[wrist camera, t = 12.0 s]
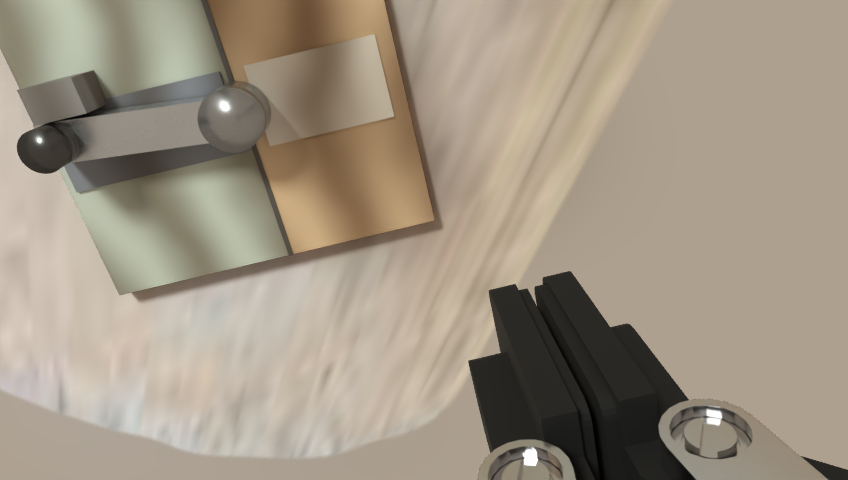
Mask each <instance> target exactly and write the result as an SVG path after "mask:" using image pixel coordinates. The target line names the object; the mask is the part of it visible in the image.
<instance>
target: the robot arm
mask: <svg viewBox="0 0 848 480" xmlns="http://www.w3.org/2000/svg"><path fill="white" fill-rule="evenodd" d="M535 296H536V302H537V306H536V304H535V302H534V300H533V299H532V296H531V294H530V293H529V291H528V289H523V290H518V288H517V286H516V285H515V284H513V285H509V286H505V287H501V288H496V289H492V290H489V297H490V302H491V307H492V312H493V317H494V322H495V327H496V332H497V337H498V341H499V346H500V351H501V353H499V354H495V355H491V356H487V357H482V358H478V359H474V360H470V361H468V362H469V367H470V371H471V376H472V380H473V384H474V389H475V393H476V397H477V402H478V406H479V410H480V414H481V418H482V422H483V426H484V430H485V434H486V438H487V442H488V445H489V449H490V454H489V455H488V456H487V457H486V458H485V460H484V461H483V463H482V464H481V466H480V468H479V473H478V479H477V480H848V470H846V469H843V468H839V467H836V466H833V465H829V464H826V463H823V462H819V461H816V460H812V459H809V458H805V457H802V456H800V455H799V454H797V453H796V452H795V451H794V450H793V449H792V448H790V447H789V446H788V445H787V444H786V443H784V442H783V441H782V440H781V439H780V438H779V437H777V436H776V435H775V434H774V433H773V432H771V431H770V430H769V429H768V428H767V427H766V426H764V425H763V424H762V423H761V422H760V421H758V420H757V419H756V418H755V417H754V416H753V415H751V414H750V413H748V412H747V411H745V410H743V409H742V408H740V407H738V406H735V405H733V404H730V403H728V402H725V401H719V400H713V399H693V400H689V399H688V398H687V397H686V396H685V395H684V393H683V392H682V390H681V389H680V388H679V386H678V385H677V384H676V383H675V381H674V380H673V379H672V378H671V376H670V375H669V373H668V372H667V371H666V370H665V369H664V367H663V366H662V365H661V363H660V362H659V361H658V359H657V358H656V357H655V355H654V354H653V353H652V351H651V350H650V349H649V348H648V346H647V345H646V344H645V342H644V341H643V340H642V338H641V337H640V336H639V335H638V333H637V332H636V331H635V329H634V328H633V327H632V326H631V325H630V324H623V325H618V326H614V327H610V326H609V325H608V323H607V322H606V320H605V319H604V318H603V316H602V315H601V313H600V312H599V311H598V309H597V308H596V306H595V305H594V303H593V302H592V301H591V299H590V298H589V296H588V295H587V294H586V292H585V291H584V290H583V288H582V287H581V285H580V284H579V282H578V281H577V279H576V278H575V277H574V275H573V274H572V273H571V272H570V271H568V272H564V273H560V274H556V275H551V276H547V277H543V285H540V286H535Z"/></svg>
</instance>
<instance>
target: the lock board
mask: <svg viewBox="0 0 848 480" xmlns="http://www.w3.org/2000/svg"><path fill="white" fill-rule="evenodd" d="M0 49H1V51H2V53H3V55H4V57H5V59H6V61H7V63H8V65H9V68H10V70H11V72H12V74H13V76H14V78H15V80H16V82H17V84H18V86H19V88H20V89H19V90H17V91H18V93H19V95H20V98H21V100H22V102H23V104H24V106H25V108H26V110H27V112H28V114H29V116H30V118H31V120H32V122H33V124H34V126H36V125H41V124H45V123H49V122H53V121H57V120H61V119H65V118H70V117H74V116H78V115H82V114H86V113H89V112H95V111H102V110H109V109H117V108H124V107H131V106H138V105H145V104H152V103H160V102H167V101H174V100H181V99H188V98H196V97H203V96H208V95H209V94H211V93H212V92H214V91H215V90H216V89H218V88H219V87H221V86H222V85H224V84H226V83H229V82H232V81H243V82H247V83H250V84H252V85H254V86H256V87H257V88H258V89H260V90H261V91H262V92H263V93H264V95H265V96H266V98H267V99H268V102H269V104H270V108H271V119H270V123H269V125H268V127H267V129H266V130H265V132H264V133H263V134H262V136H261V137H260V139H259V140H258V141H257V143H256V144H255V145H254V146H253V147H251V148H250V149H248V150H246V151H243V152H238V153H229V152H224V151H221V150H219V149H217V148H215V147H214V146H212V145H211V144H210V143H207V144H200V145H193V146H186V147H179V148H172V149H165V150H157V151H150V152H143V153H136V154H129V155H122V156H115V157H108V158H101V159H94V160H87V161H80V162H73V163H69V164H67V165H65V166H64V167H62V168H60V169H59V171H60V173H61V175H62V177H63V179H64V181H65V183H66V186H67V188H68V190H69V192H70V194H71V196H72V198H73V200H74V202H75V204H76V206H77V208H78V210H79V212H80V215H81V217H82V219H83V221H84V223H85V225H86V227H87V229H88V231H89V233H90V235H91V237H92V239H93V241H94V244H95V246H96V248H97V250H98V252H99V254H100V256H101V258H102V260H103V262H104V264H105V266H106V268H107V270H108V273H109V275H110V277H111V279H112V281H113V283H114V285H115V287H116V289H117V291H118V293H119V295H123V294H127V293H131V292H136V291H140V290H144V289H148V288H153V287H157V286H161V285H165V284H169V283H174V282H178V281H182V280H186V279H190V278H195V277H199V276H203V275H207V274H211V273H216V272H220V271H224V270H228V269H232V268H237V267H241V266H245V265H249V264H253V263H258V262H262V261H266V260H270V259H275V258H279V257H283V256H287V255H289V256H290V255H293V254H296V253H300V252H304V251H308V250H312V249H317V248H321V247H325V246H329V245H333V244H338V243H342V242H346V241H350V240H354V239H359V238H363V237H367V236H371V235H375V234H380V233H384V232H388V231H392V230H397V229H401V228H405V227H409V226H413V225H418V224H422V223H426V222H430V221H434V215H433V211H432V207H431V202H430V198H429V194H428V189H427V185H426V181H425V176H424V172H423V168H422V163H421V159H420V155H419V150H418V146H417V141H416V137H415V133H414V128H413V124H412V120H411V115H410V111H409V107H408V102H407V98H406V94H405V89H404V85H403V81H402V76H401V72H400V68H399V63H398V59H397V55H396V50H395V46H394V42H393V37H392V33H391V29H390V24H389V20H388V15H387V11H386V7H385V2H384V0H0Z"/></svg>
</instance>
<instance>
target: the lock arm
mask: <svg viewBox="0 0 848 480" xmlns="http://www.w3.org/2000/svg"><path fill="white" fill-rule="evenodd" d="M270 119H271V108H270V104H269V102H268V99H267V98H266V96H265V95H264V93H263V92H262V91H261V90H260V89H258V88H257V87H256V86H254V85H252V84H250V83H247V82H243V81H232V82H229V83H226V84H224V85H222V86H221V87H219V88H218V89H216V90H215V91H214V92H212V93H211V94H209V95H208V96H203V97H196V98H188V99H181V100H174V101H167V102H160V103H152V104H145V105H138V106H131V107H124V108H117V109H109V110H102V111H95V112H89V113H86V114H82V115H78V116H74V117H70V118H65V119H61V120H57V121H53V122H49V123H45V124H41V125H36V126H34V125H33V127H34V129H33V130H30V131H28V132H26V133H24V134H23V135H22V136H21V137H20V138H19V140H18V143H17V152H18V155H19V157H20V159H21V161H22V162H23V163H24V164H25V165H26V166H27V167H28V168H30V169H31V170H33V171H35V172H38V173H44V174H47V173H53V172H55V171H57V170H59V169H60V168H62V167H64V166H65V165H67V164H69V163H73V162H80V161H87V160H94V159H101V158H108V157H115V156H122V155H129V154H136V153H143V152H150V151H157V150H165V149H172V148H179V147H186V146H193V145H200V144H207V143H210V144H211V145H212V146H214V147H215V148H217V149H219V150H221V151H224V152H229V153H238V152H243V151H246V150H248V149H250V148H251V147H253V146H254V145H255V144H256V143H257V141H258V140H259V139H260V137H261V136H262V134H263V133H264V132H265V130H266V129H267V127H268V125H269V123H270Z"/></svg>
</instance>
